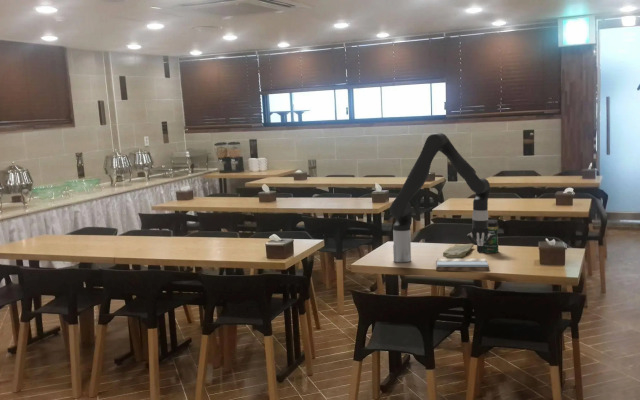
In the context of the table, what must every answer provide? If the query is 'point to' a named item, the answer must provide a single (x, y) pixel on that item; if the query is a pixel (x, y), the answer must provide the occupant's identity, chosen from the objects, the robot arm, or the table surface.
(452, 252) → the stone slab
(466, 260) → the floor board
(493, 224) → the coffee jar
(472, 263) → the tilted plank
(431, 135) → the robot arm
